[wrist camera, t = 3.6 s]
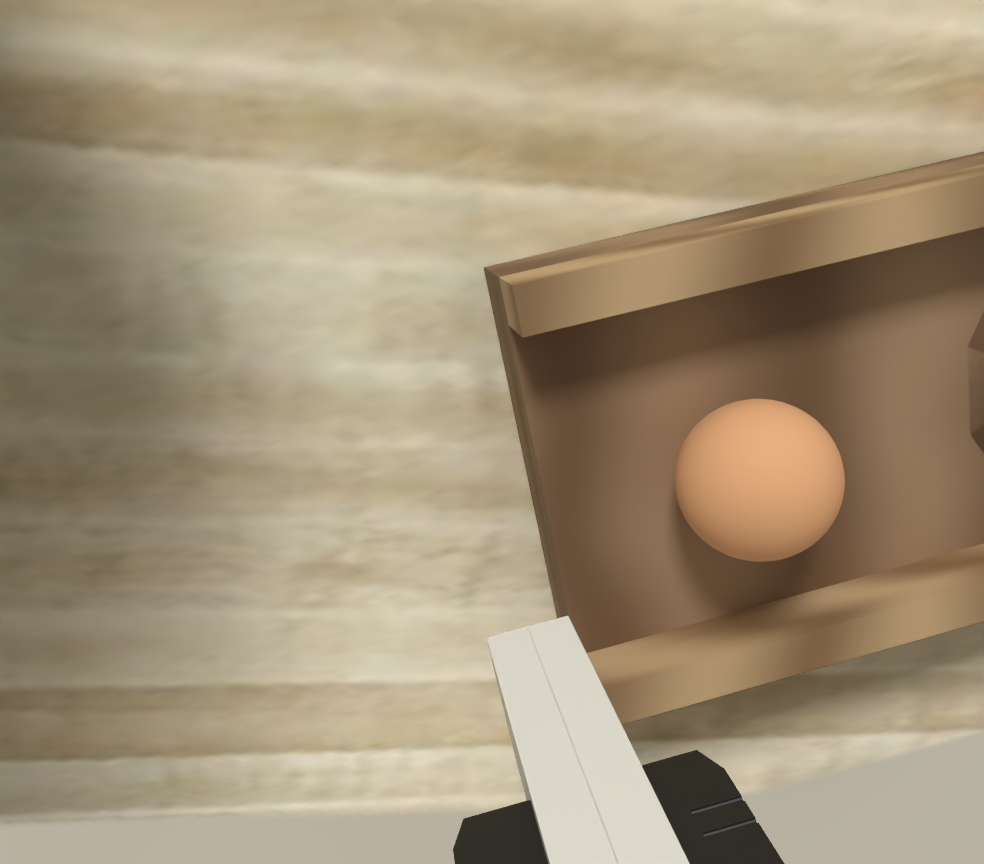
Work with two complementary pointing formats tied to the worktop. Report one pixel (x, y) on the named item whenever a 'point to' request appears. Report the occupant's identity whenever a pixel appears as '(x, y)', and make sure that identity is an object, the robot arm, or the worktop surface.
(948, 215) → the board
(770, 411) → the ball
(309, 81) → the worktop surface
